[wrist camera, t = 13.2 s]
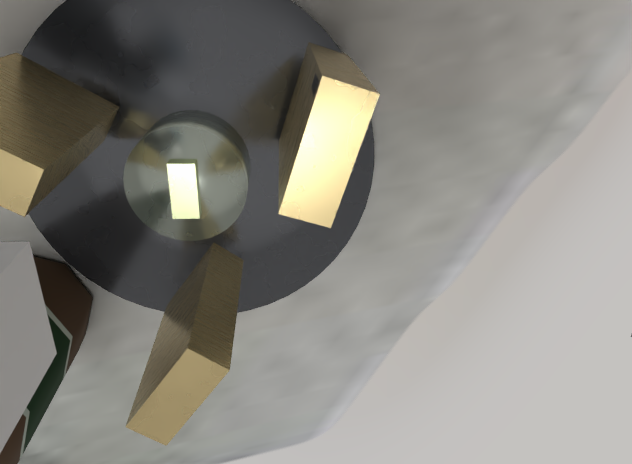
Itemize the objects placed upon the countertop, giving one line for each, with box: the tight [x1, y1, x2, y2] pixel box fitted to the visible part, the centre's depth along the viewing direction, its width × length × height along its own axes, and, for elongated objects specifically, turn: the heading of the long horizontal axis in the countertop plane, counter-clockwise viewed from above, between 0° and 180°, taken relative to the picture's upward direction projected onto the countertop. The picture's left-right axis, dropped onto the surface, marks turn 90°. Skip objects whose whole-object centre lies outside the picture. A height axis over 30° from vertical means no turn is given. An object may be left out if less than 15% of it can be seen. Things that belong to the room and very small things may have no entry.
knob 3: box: [278, 42, 380, 228], centre depth 25 cm, size 6×2×10 cm, turn 162°
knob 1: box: [0, 53, 119, 217], centre depth 25 cm, size 6×2×10 cm, turn 59°
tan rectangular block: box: [126, 243, 244, 445], centre depth 30 cm, size 6×2×10 cm, turn 143°
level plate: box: [22, 0, 374, 312], centre depth 30 cm, size 21×21×5 cm
